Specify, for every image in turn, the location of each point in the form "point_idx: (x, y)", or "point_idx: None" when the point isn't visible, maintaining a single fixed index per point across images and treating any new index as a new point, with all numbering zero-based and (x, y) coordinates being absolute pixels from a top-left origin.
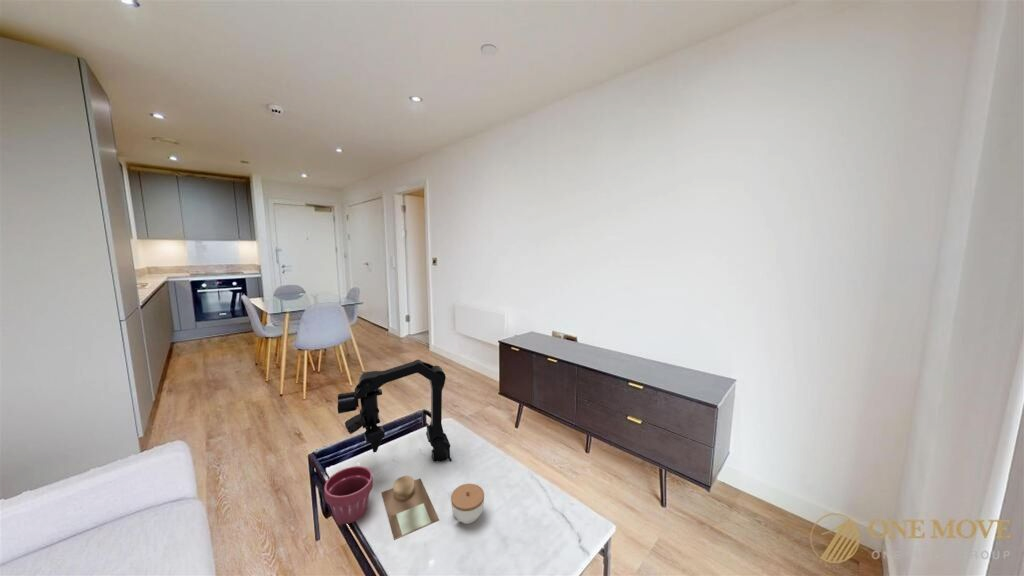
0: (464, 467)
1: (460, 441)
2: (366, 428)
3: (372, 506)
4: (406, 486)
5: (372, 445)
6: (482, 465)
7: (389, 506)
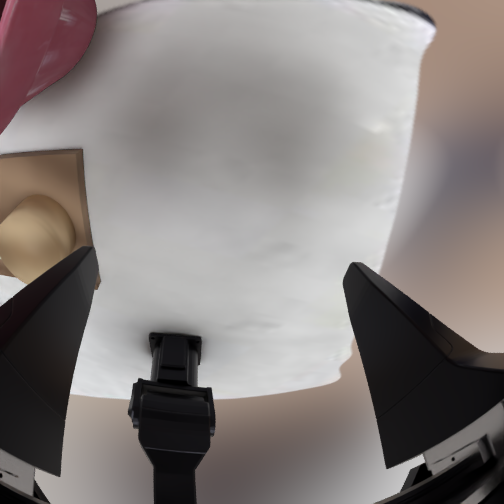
0: (117, 363)
1: (225, 386)
2: (435, 359)
3: (45, 110)
4: (8, 257)
5: (6, 315)
6: (111, 380)
7: (5, 172)
